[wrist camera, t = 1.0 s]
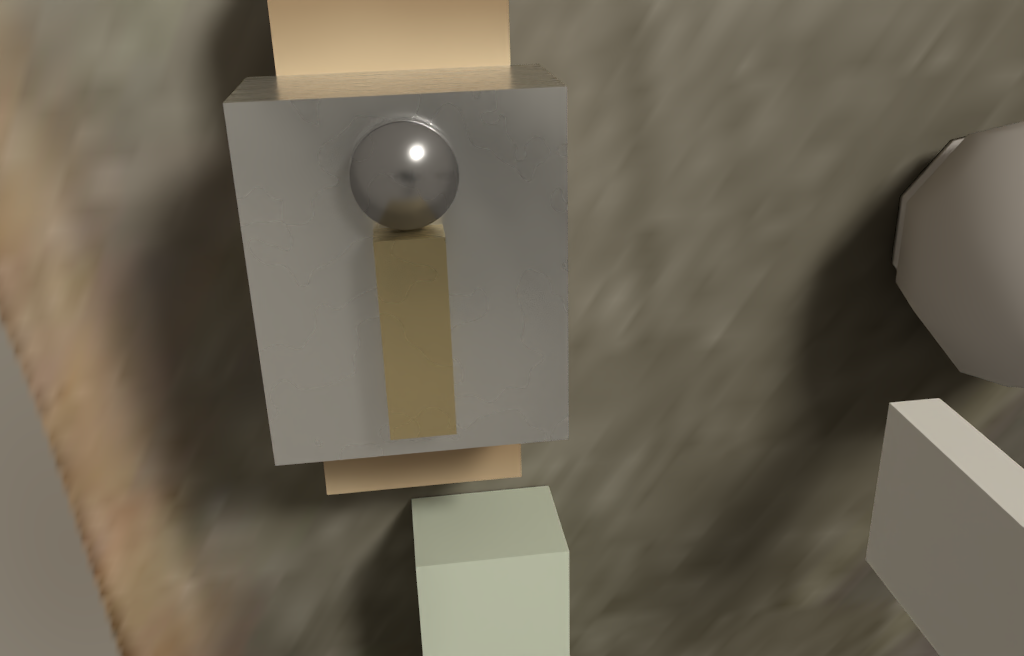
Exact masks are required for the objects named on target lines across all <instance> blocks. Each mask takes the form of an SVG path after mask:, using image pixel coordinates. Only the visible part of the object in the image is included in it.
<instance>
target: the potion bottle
mask: <svg viewBox="0 0 1024 656" xmlns="http://www.w3.org/2000/svg"><path fill="white" fill-rule="evenodd" d="M891 263H892V265H893V266H894V267H895V269H896V270H897V275H896V283H897V285H898V287H899V288H900V290H901V291H902V293H903V295H904V296H905V298H906V299H907V301H908V303H909V304H910V306H911V307H912V309H913V310H914V312H915V313H916V314H917V316H918V317H919V318H920V320H921V321H922V322H923V324H924V325H925V326H926V328H927V329H928V330H929V332H930V333H931V334H932V336H933V337H934V338H935V340H936V341H937V342H938V344H939V345H940V346H941V348H942V349H943V350H944V352H945V353H946V354H947V356H948V357H949V358H950V359H951V361H952V362H953V363H954V365H955V366H956V367H957V369H958V370H959V371H960V372H961V373H965V374H968V375H971V376H974V377H978V378H981V379H984V380H987V381H991V382H994V383H997V384H1000V385H1004V386H1007V387H1019V388H1024V121H1022V122H1018V123H1014V124H1010V125H1006V126H1001V127H997V128H993V129H989V130H985V131H980V132H976V133H972V134H968V135H967V136H965V137H961V138H957V139H952V140H950V141H949V143H948V144H947V145H946V146H945V147H944V148H943V149H942V150H941V151H940V153H939V154H938V155H937V156H936V157H935V158H934V159H933V160H932V161H931V163H930V164H929V165H928V166H927V167H926V168H925V169H924V170H923V171H922V172H921V174H920V175H919V176H918V177H917V178H916V179H915V180H914V181H913V182H912V184H911V185H910V186H909V187H908V188H907V189H906V190H905V191H904V192H903V194H902V195H901V196H900V201H899V209H898V216H897V223H896V231H895V238H894V245H893V252H892V260H891Z"/></svg>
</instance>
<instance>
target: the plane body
mask: <svg viewBox="0 0 1024 656" xmlns="http://www.w3.org/2000/svg"><path fill="white" fill-rule="evenodd" d="M267 3H268V11H269V20H270V28H271V36H272V44H273V52H274V61H275V69H276V76H284V75H305V74H327V73H349V72H371V71H393V70H415V69H437V68H459V67H480V66H502V65H510V34H509V0H267ZM323 464H324V473H325V481H326V489H327V495H332V494H343V493H353V492H364V491H374V490H385V489H395V488H406V487H416V486H427V485H438V484H448V483H459V482H469V481H480V480H490V479H501V478H511V477H522V476H521V444H510V445H499V446H488V447H477V448H466V449H455V450H444V451H433V452H422V453H411V454H400V455H389V456H378V457H367V458H356V459H345V460H334V461H323Z"/></svg>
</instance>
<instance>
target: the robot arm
mask: <svg viewBox="0 0 1024 656" xmlns="http://www.w3.org/2000/svg"><path fill="white" fill-rule="evenodd" d="M866 561H867V562H868V563H869V565H870V566H871V567H872V569H873V570H874V571H875V572H876V574H877V575H878V576H879V578H880V579H881V580H882V582H883V583H884V584H885V585H886V587H887V588H888V589H889V591H890V592H891V593H892V594H893V596H894V597H895V598H896V600H897V601H898V602H899V604H900V605H901V606H902V607H903V609H904V610H905V611H906V613H907V614H908V615H909V616H910V618H911V619H912V620H913V622H914V623H915V624H916V626H917V627H918V628H919V629H920V631H921V632H922V633H923V635H924V636H925V637H926V638H927V640H928V641H929V642H930V644H931V645H932V646H933V648H934V649H935V650H936V651H937V653H938V654H939V655H940V656H1024V469H1023V468H1022V467H1021V466H1020V465H1018V464H1017V463H1016V462H1015V461H1014V460H1012V459H1011V458H1010V457H1009V456H1008V455H1006V454H1005V453H1004V452H1003V451H1002V450H1001V449H999V448H998V447H997V446H996V445H995V444H993V443H992V442H991V441H990V440H989V439H987V438H986V437H985V436H984V435H983V434H981V433H980V432H979V431H978V430H977V429H976V428H974V427H973V426H972V425H971V424H970V423H968V422H967V421H966V420H965V419H964V418H962V417H961V416H960V415H959V414H958V413H956V412H955V411H954V410H953V409H952V408H951V407H949V406H948V405H947V404H946V403H945V402H943V401H942V400H941V399H940V398H935V399H924V400H913V401H902V402H891V403H889V408H888V415H887V421H886V428H885V435H884V441H883V448H882V455H881V461H880V468H879V474H878V481H877V488H876V494H875V501H874V508H873V514H872V521H871V528H870V534H869V541H868V547H867V554H866Z"/></svg>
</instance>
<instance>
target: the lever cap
mask: <svg viewBox="0 0 1024 656" xmlns="http://www.w3.org/2000/svg"><path fill="white" fill-rule="evenodd" d="M223 108H224V115H225V122H226V129H227V136H228V143H229V150H230V157H231V164H232V170H233V177H234V184H235V191H236V198H237V205H238V212H239V219H240V226H241V233H242V240H243V247H244V254H245V260H246V267H247V274H248V281H249V288H250V295H251V302H252V309H253V316H254V323H255V330H256V337H257V343H258V350H259V357H260V364H261V371H262V378H263V385H264V392H265V399H266V406H267V413H268V420H269V426H270V433H271V440H272V447H273V454H274V461H275V466H279V465H290V464H301V463H312V462H323V461H334V460H345V459H356V458H367V457H378V456H389V455H400V454H411V453H422V452H433V451H444V450H455V449H466V448H477V447H488V446H499V445H510V444H521V443H532V442H543V441H554V440H565V439H569V413H568V188H567V86H566V85H565V84H563V83H562V82H561V81H560V80H558V79H557V78H556V77H555V76H553V75H552V74H551V73H550V72H548V71H547V70H546V69H545V68H543V67H542V66H541V65H540V64H524V65H502V66H480V67H459V68H437V69H415V70H393V71H371V72H349V73H327V74H305V75H284V76H262V77H246V78H245V79H244V80H243V81H242V82H241V83H240V85H239V86H238V87H237V88H236V89H235V90H234V91H233V92H232V93H231V95H230V96H229V97H228V98H227V99H226V100H225V101H224V102H223Z"/></svg>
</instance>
